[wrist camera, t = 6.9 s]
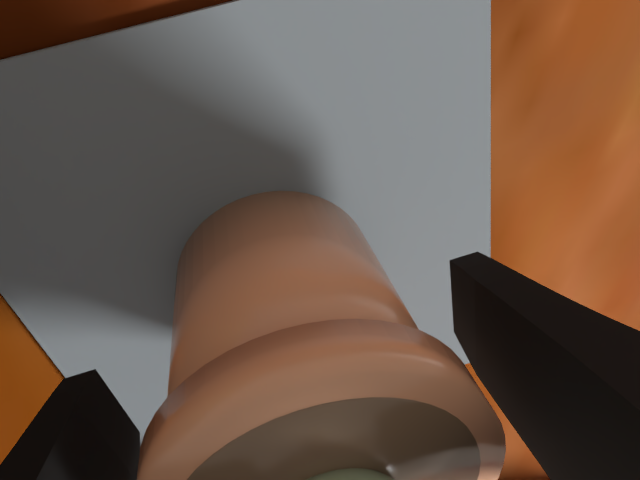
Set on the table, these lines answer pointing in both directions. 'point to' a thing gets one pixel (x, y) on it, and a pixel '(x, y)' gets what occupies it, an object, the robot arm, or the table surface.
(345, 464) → the terracotta pot
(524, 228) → the table surface
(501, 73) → the table surface
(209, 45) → the slate mat
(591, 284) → the table surface
